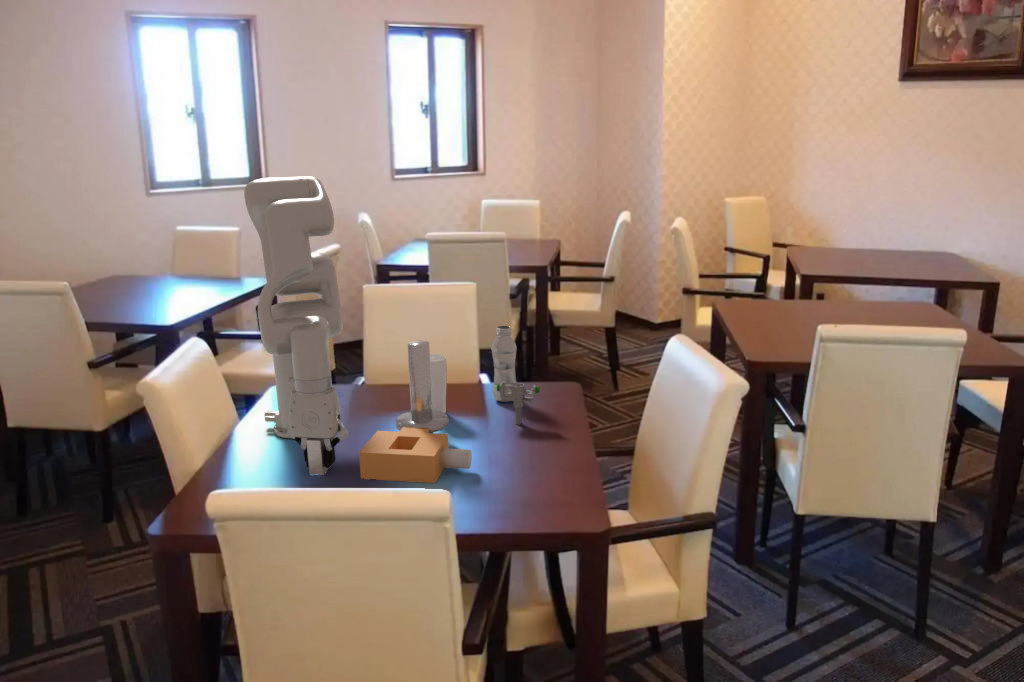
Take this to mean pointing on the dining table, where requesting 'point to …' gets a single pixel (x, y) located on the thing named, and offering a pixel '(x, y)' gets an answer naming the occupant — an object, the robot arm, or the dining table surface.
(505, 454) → the dining table surface
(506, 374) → the plastic bottle
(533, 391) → the mechanical component
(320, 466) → the white block
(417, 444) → the bracket head
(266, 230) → the robot arm
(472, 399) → the dining table surface
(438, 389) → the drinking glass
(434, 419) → the post
